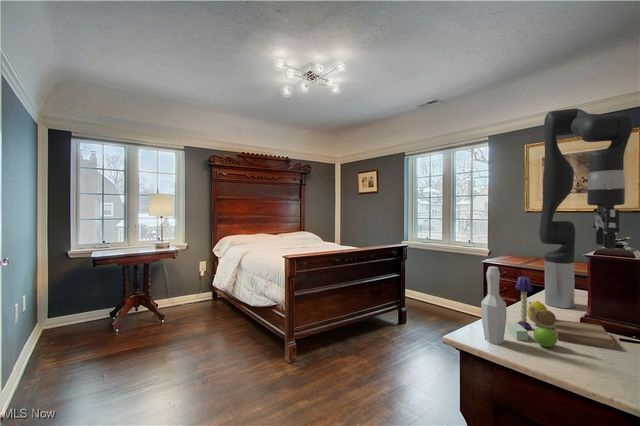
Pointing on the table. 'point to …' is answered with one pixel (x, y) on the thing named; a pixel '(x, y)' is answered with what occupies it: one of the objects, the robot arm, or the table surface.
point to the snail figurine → (544, 327)
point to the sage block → (518, 331)
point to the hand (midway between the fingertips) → (605, 246)
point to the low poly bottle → (493, 309)
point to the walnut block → (582, 334)
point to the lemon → (536, 308)
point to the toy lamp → (524, 299)
